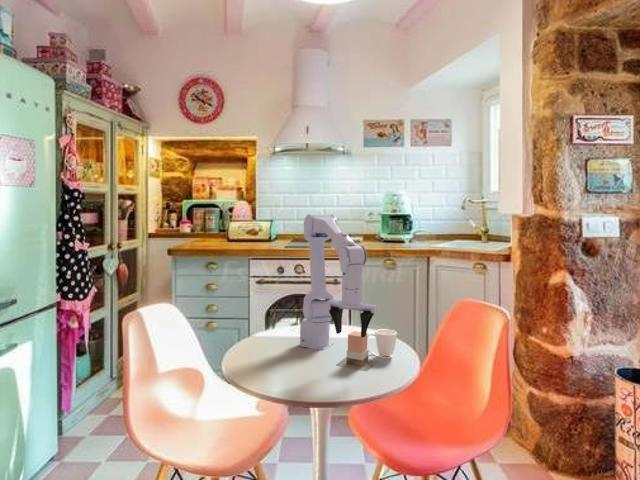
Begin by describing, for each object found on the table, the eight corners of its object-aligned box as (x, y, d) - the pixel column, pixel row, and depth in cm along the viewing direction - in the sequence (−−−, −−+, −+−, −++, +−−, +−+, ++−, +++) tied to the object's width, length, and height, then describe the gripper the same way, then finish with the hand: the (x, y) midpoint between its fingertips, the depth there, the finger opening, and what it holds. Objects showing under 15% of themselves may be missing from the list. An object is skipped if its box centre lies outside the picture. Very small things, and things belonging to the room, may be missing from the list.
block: (347, 351, 141) (348, 334, 141) (353, 347, 145) (353, 330, 145) (361, 353, 139) (362, 336, 139) (367, 349, 143) (367, 332, 143)
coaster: (335, 366, 141) (335, 365, 141) (348, 356, 150) (348, 355, 150) (367, 372, 136) (367, 371, 136) (378, 361, 145) (378, 360, 145)
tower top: (346, 357, 142) (346, 351, 141) (353, 352, 146) (353, 346, 146) (362, 360, 139) (362, 353, 139) (368, 355, 144) (368, 348, 144)
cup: (395, 361, 146) (396, 335, 145) (363, 358, 148) (363, 333, 147) (397, 354, 152) (398, 329, 152) (366, 351, 155) (367, 327, 154)
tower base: (346, 364, 142) (346, 357, 142) (352, 359, 146) (353, 352, 146) (362, 366, 140) (362, 360, 139) (368, 361, 144) (368, 355, 144)
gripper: (323, 287, 135) (322, 334, 136) (371, 292, 129) (370, 341, 130) (333, 283, 142) (332, 328, 143) (379, 288, 135) (378, 335, 136)
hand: (351, 334), depth 137 cm, fingers open, 7 cm apart
